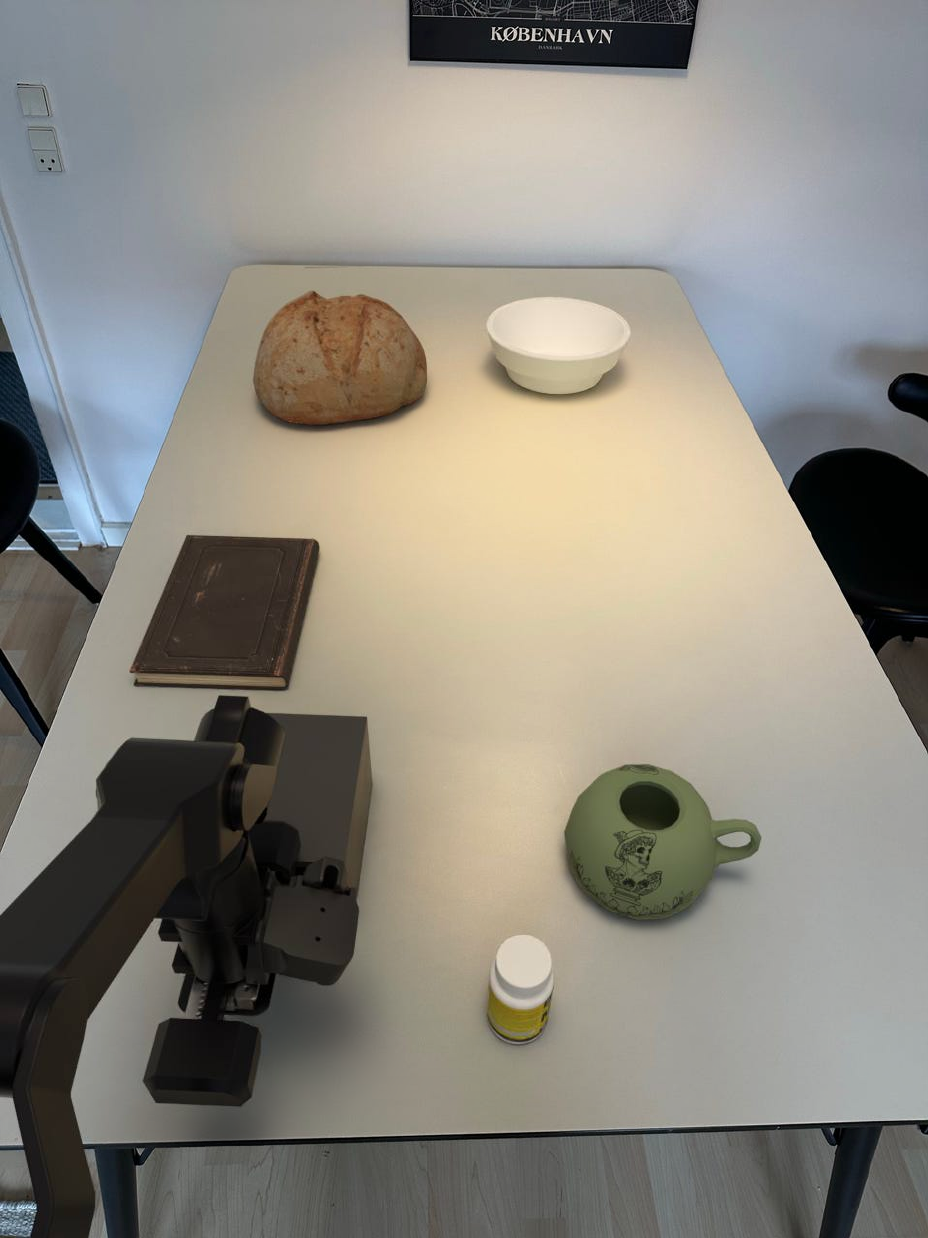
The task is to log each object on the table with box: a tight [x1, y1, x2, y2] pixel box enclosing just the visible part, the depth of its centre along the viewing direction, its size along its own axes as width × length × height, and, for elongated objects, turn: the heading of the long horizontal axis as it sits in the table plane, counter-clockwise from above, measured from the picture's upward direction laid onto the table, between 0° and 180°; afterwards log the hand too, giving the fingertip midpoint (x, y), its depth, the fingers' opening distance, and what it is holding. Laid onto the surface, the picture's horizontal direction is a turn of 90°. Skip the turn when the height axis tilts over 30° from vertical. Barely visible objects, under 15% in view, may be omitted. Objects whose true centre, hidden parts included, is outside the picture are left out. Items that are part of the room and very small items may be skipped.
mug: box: [563, 763, 762, 920], centre depth 76 cm, size 16×13×9 cm
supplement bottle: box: [485, 934, 555, 1045], centre depth 66 cm, size 5×5×8 cm
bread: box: [252, 290, 428, 426], centre depth 135 cm, size 26×23×15 cm
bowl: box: [485, 296, 632, 395], centre depth 143 cm, size 22×22×8 cm
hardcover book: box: [129, 534, 321, 691], centre depth 101 cm, size 16×23×2 cm
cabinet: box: [264, 712, 374, 902], centre depth 76 cm, size 15×13×10 cm
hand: (249, 1004), depth 65 cm, fingers closed
